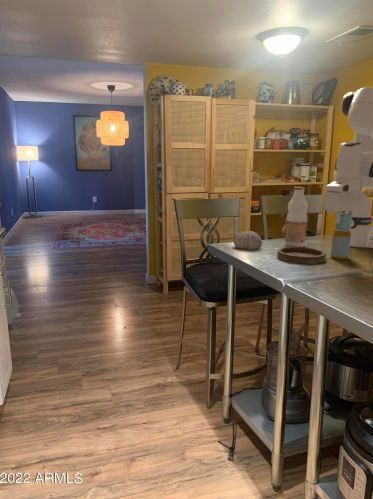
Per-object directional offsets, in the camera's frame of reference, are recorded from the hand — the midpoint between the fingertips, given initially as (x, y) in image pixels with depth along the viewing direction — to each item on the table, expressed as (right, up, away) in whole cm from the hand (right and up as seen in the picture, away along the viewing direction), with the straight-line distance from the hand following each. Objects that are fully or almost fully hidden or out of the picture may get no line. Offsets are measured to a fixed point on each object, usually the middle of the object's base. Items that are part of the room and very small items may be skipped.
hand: (343, 222), depth 147 cm
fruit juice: (-8, -9, +38) cm, 40 cm away
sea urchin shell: (-32, -10, +32) cm, 46 cm away
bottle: (+4, -14, +14) cm, 20 cm away
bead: (0, -2, 0) cm, 2 cm away
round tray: (-12, -14, +13) cm, 23 cm away
